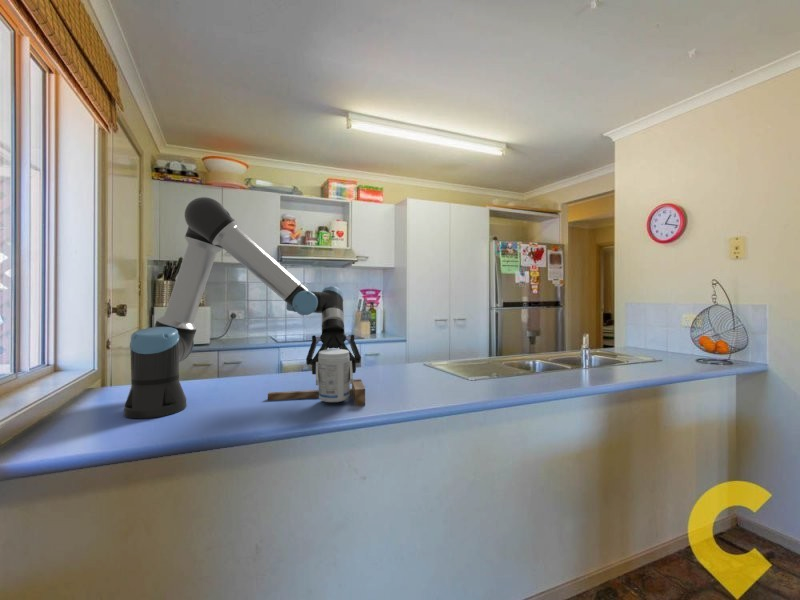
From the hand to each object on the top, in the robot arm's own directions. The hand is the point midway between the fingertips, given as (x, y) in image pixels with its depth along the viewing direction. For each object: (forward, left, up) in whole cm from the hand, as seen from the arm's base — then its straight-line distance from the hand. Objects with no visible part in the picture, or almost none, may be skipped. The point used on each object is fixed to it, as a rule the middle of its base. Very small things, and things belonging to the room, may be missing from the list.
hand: (334, 382), depth 115 cm
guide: (-5, +4, -7) cm, 10 cm away
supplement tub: (0, +3, -6) cm, 7 cm away
